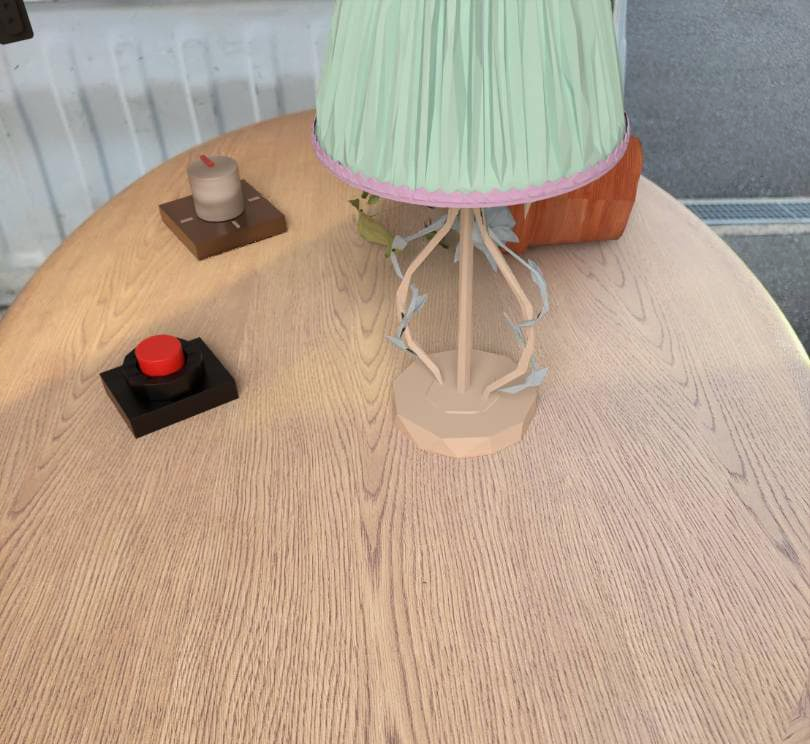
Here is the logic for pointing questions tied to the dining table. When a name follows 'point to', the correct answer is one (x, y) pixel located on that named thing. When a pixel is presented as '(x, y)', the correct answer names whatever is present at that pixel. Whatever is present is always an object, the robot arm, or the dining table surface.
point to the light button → (160, 355)
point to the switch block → (169, 389)
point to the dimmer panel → (223, 224)
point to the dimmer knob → (216, 188)
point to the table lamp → (469, 166)
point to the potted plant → (554, 211)
